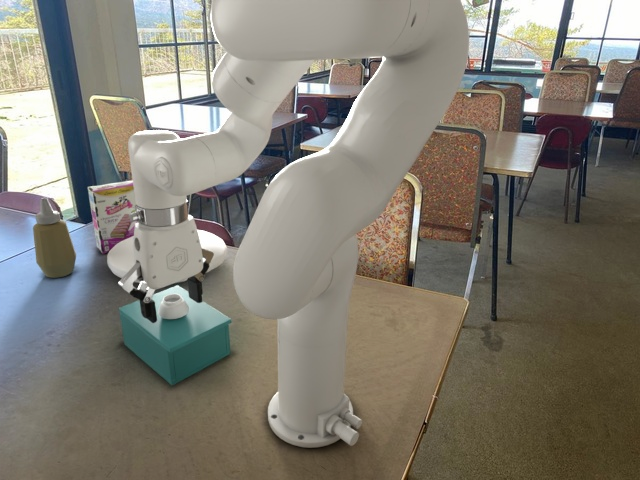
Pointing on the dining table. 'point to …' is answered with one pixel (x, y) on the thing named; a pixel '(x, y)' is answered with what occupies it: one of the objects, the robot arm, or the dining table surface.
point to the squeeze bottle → (53, 243)
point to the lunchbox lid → (177, 321)
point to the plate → (123, 254)
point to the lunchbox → (176, 352)
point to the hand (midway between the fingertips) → (173, 309)
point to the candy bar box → (112, 213)
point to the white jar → (173, 307)
